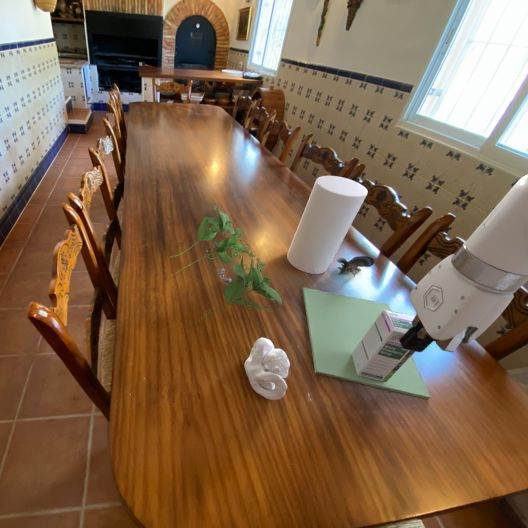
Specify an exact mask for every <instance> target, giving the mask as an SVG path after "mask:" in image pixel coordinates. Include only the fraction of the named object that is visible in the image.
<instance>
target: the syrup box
mask: <svg viewBox="0 0 528 528" xmlns="http://www.w3.org/2000/svg"><path fill="white" fill-rule="evenodd" d="M415 316H416V315H410V314H409V315H408V314H406V313H405V314H404V313H402V312H401V313H400V312H397V311H392V310H391V311H388V310H383V311H382V312H381V314H380V315H379V316H378V318H377V319H376V321H375V322H374V323H373V325H372V326H371V327H370V329H369V330H368V332H367V333H366V334H365V336H364V337H363V338H362V340H361V341H360V343H359V344H358V345H357V347H356V348H355V349H354V351H353V352H352V356H353V361H354V364H355V368H356V372H357V375H359V376H364V377H367V378H371V379H375V380H379V381H383V382H387V381H388V380H389V379H390V378H391V377H392V376H393V375H394V373H395V372H396V371H397V370H398V369H399V368H400V367H401V366H402V365H403V364H404V363H405V362H406V361H407V360H408V359H409V358H410V357H411V356H412V357H413V354H415V352H416V351H411V350H407V349H403V348H402V346H401V345H402V344H401V343H400V341H399V340H400V339H401V338H402V336H403V335H404V334H405V333H406V332H407V331H408V330H409V329H410V328H411V327H413V326H412V321H413V319H414V318H415Z"/></svg>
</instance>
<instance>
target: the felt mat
mask: <svg viewBox="0 0 528 528" xmlns="http://www.w3.org/2000/svg"><path fill="white" fill-rule="evenodd" d="M302 296H303V303H304V309H305V314H306V316H305V317H306V322H307V328H308V334H309V341H310V347H311V354H312V360H313V366H314V368H313V369H314V373H315V374H318V375H321V376H326V377H331V378H335V379H339V380H344V381H348V382H352V383H356V384H361V385H365V386H369V387H374V388H376V389H377V388H378V389H381V390H382V389H383V390H387V391H390V392H394V393H395V392H396V393H399V394H400V393H401V394H403V395H409V396H413V397H416V398H421V399H425V400H429V399H431V398H432V397H431V395H430V393H429V390H428V388H427V386H426V383H425V381H424V379H423V377H422V375H421V373H420V371H419V369H418V367H417V364H416V362H415V360H414V358H413V355H412V356H411V357H410V358H409V359H408V360H407V361H406V362H405V363H404V364H403V365H402V366H401V367H400V368H399V369H398V370H397V371H396V372H395V373H394V375H393V376H392V377H391V378H390V379H389V380H388V381H387V382H383V381H379V380H375V379H371V378H367V377H364V376H359V375H357V372H356V368H355V364H354V361H353V356H352V352H353V351H354V349H355V348H356V347H357V345H358V344H359V343H360V341H361V340H362V338H363V337H364V336H365V334H366V333H367V332H368V330H369V329H370V327H371V326H372V325H373V323H374V322H375V321H376V319H377V318H378V316H379V315H380V314H381V312H382V311H383V310H388V311H392V310H391V307H390V305H389V303H385V302H380V301H375V300H370V299H365V298H359V297H356V296H355V297H354V296H349V295H345V294H340V293H334V292H330V291H329V292H328V291H324V290H320V289H314V288H309V287H304V286H303V287H302Z"/></svg>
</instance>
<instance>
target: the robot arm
mask: <svg viewBox="0 0 528 528" xmlns="http://www.w3.org/2000/svg"><path fill="white" fill-rule="evenodd" d="M526 283H528V174H526V175H524V176H523V177H521V178H520V179H519V180H518V181H517V182H516V183H515V184H514V185H513V186H512V187H511V188H510V189H509V191H508V192H507V193H506V194H505V195H504V196H503V197H502V199H501V200H500V201H499V202H498V203H497V205H496V206H495V207H494V208H493V209H492V211H491V212H490V213H489V214H488V215H487V216H486V218H484V220H483V221H482V222H481V223H480V224H479V226H477V228H476V229H475V230H474V231H473V232H472V234H471V235H470V236H469V237H468V238H467V239H466V241H464V243H463V244H462V245H461V247H460V248H459V249H457V251H456V252H455V253H453V254H450V255H448V256H446V257H445V258H443V259H442V260H441V261H439V263H437V264H436V265H435V266H434V267H432V268H431V270H429V271H428V273H427V274H425V275H424V276H423V278H422V279H421V280H420V281H418V283H417V284H416V285H415V286H414V287H413V289H412V290H411V291H410V293H409V301H410V303H411V305H412V307H413V309H414V311H415V315H414V316H415V318H414V319H413V321H412V326H413V327H411V328H410V329H409V330H408V331H407V332H406V333H405V334H404V335H403V336H402V338H401V339H400V340H399V341H400V343H401V344H402V345H401V346H402V348H403V349H407V350H411V351H415V352H417V353H423V351H425V350H426V349H427V348H428V347H429V346H430V345H432V343H433V342H435V345H437V347H438V348H439V349H440V351H443V352H448V353H454V352H455V351H456V350H457V349H458V347H459V345H462V346H466V345H469V344H471V343H472V342H474V341H475V340H476V339H478V338H479V337H480V336H481V335H482V334H483V333H484V332H485V331H487V330H488V328H489V327H491V325H493V324H494V322H495V321H496V320H498V318H499V317H500V316H501V315H502V314H503V312H504V311H505V310H506V308H507V307H508V306H509V305H510V303H511V302H512V300H513V299H514V298H515V295H514V293H516V292H517V291H518V290H519V289H520V288H521V287H523V285H525V284H526Z"/></svg>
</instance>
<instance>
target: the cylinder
mask: <svg viewBox="0 0 528 528" xmlns="http://www.w3.org/2000/svg"><path fill="white" fill-rule="evenodd" d="M367 196H368V189H367V188H366V187H365V186H364V185H363V184H361V183H359V182H357V181H356V180H352V179H350V178H346V177H342V176H337V175H321V176H319V177H317V178H316V179H315V182H314V185H313V187H312V190H311V192H310V195H309V197H308V200H307V203H306V205H305V208H304V210H303V213H302V215H301V218H300V221H299V223H298V226H297V228H296V231H295V233H294V235H293V239H292V241H291V243H290V246H289V249H288V251H287V254H286V259H287V261H288V262H289V264H290V265H291V266H292V267H294V268H296V269H297V270H299V271H300V272H303V273H307V274H311V275H321V274H324V273H326V272H327V271H328V270H329V268H330V266H331V264H332V262H333V261H334V259H335V256H337V255H336V254H337V253H338V251H339V249H340V247H341V245H342V243H343V242H344V239H345V237H346V235H347V234H348V232H349V230H350V228H351V226H352V224H353V222H354V221H355V219H356V216H357V214H358V212H359V211H360V209H361V206H362V205H363V203H364V201H365V200H366V197H367Z"/></svg>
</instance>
